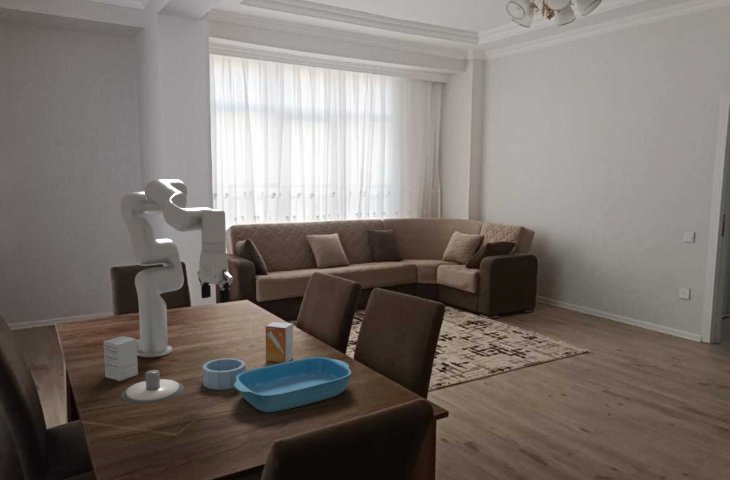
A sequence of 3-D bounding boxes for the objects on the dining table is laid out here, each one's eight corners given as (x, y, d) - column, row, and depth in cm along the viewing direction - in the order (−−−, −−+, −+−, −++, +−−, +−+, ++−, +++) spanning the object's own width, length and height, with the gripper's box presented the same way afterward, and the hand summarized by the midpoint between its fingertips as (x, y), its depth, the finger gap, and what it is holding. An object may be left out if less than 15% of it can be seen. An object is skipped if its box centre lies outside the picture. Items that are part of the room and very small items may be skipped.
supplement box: (124, 371, 189) (122, 335, 187) (138, 375, 185) (137, 338, 184) (104, 378, 183) (102, 340, 181) (119, 382, 179) (117, 344, 177)
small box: (265, 361, 201) (265, 325, 199) (273, 355, 207) (273, 321, 205) (286, 363, 198) (285, 327, 197) (293, 358, 204) (293, 323, 203)
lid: (115, 398, 165) (114, 378, 165) (146, 380, 180) (146, 362, 179) (160, 403, 162) (159, 383, 161) (188, 384, 176) (188, 366, 176)
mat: (107, 401, 164) (107, 399, 164) (145, 379, 182) (145, 378, 182) (161, 407, 160) (161, 406, 160) (195, 385, 177) (195, 383, 177)
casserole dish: (252, 424, 151) (252, 398, 150) (222, 396, 169) (222, 374, 168) (365, 394, 172) (365, 371, 171) (327, 373, 190) (327, 352, 189)
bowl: (195, 388, 175) (194, 369, 174) (216, 374, 187) (215, 356, 186) (233, 392, 171) (233, 373, 171) (252, 377, 184) (251, 360, 183)
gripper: (188, 246, 183) (189, 298, 185) (221, 251, 172) (222, 305, 174) (207, 244, 188) (208, 294, 190) (240, 248, 178) (241, 301, 180)
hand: (215, 299), depth 182 cm, fingers open, 9 cm apart
